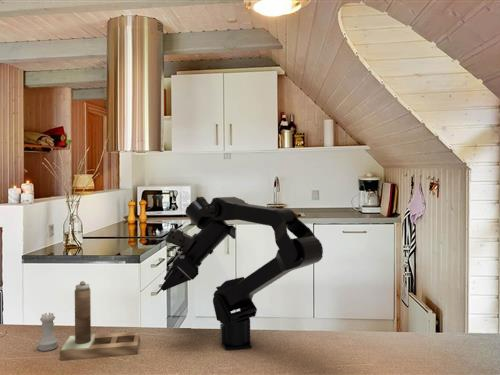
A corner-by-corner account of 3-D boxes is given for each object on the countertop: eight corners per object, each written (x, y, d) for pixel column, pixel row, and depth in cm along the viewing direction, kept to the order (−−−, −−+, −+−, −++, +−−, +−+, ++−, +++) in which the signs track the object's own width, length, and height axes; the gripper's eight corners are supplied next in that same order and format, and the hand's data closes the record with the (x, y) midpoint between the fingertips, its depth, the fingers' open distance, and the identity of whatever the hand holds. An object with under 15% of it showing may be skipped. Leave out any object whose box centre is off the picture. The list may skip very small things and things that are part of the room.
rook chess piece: (50, 352, 98) (49, 317, 98) (33, 351, 99) (32, 316, 99) (62, 345, 102) (61, 312, 102) (45, 343, 103) (45, 311, 103)
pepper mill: (91, 338, 101) (91, 279, 100) (89, 343, 97) (88, 282, 97) (76, 339, 100) (76, 279, 100) (73, 344, 97) (73, 283, 96)
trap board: (139, 339, 105) (139, 330, 105) (137, 353, 97) (137, 344, 97) (69, 344, 102) (69, 335, 102) (59, 360, 93) (59, 350, 93)
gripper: (185, 213, 115) (144, 255, 114) (183, 220, 97) (134, 270, 95) (215, 242, 116) (174, 283, 115) (218, 254, 98) (169, 304, 97)
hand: (163, 284), depth 106 cm, fingers open, 9 cm apart
